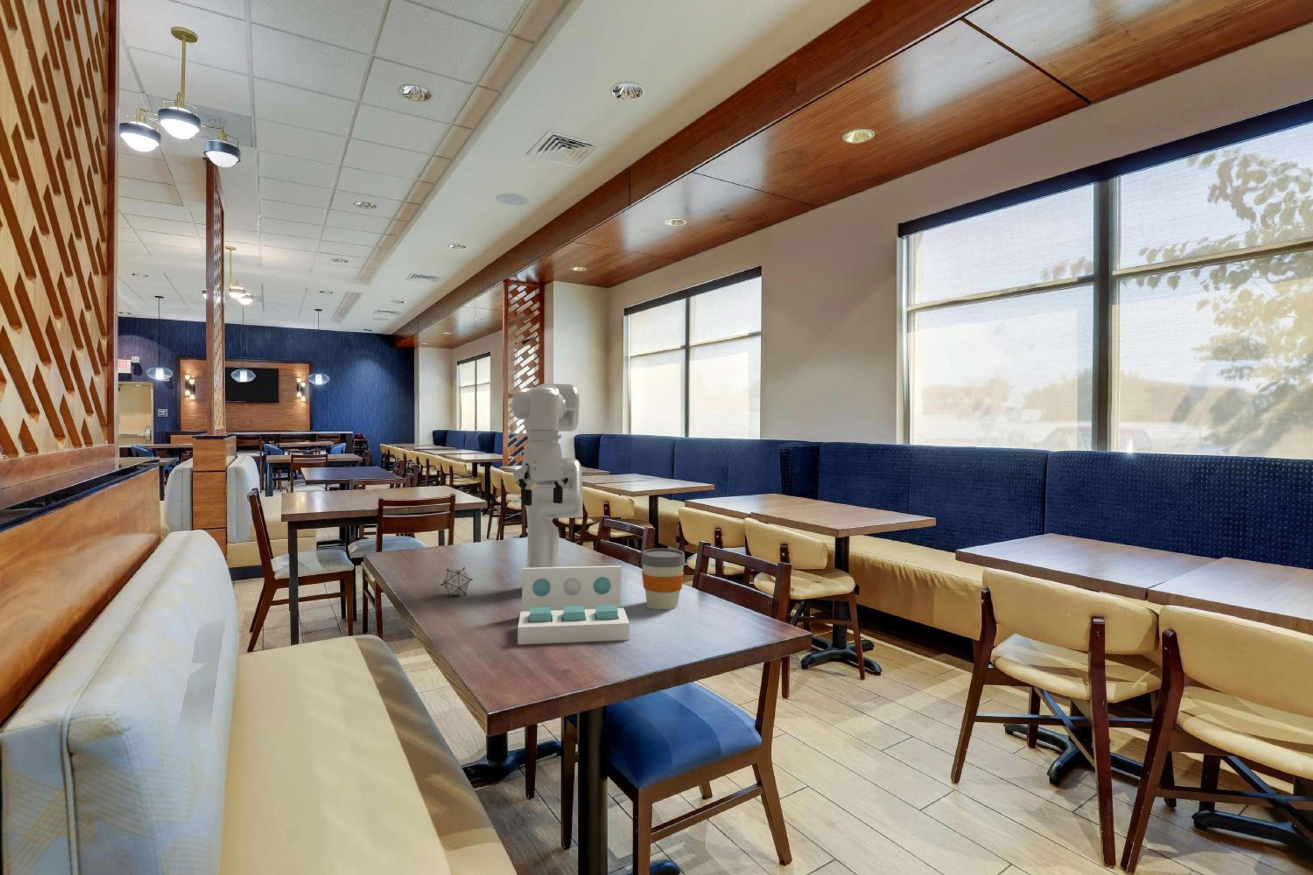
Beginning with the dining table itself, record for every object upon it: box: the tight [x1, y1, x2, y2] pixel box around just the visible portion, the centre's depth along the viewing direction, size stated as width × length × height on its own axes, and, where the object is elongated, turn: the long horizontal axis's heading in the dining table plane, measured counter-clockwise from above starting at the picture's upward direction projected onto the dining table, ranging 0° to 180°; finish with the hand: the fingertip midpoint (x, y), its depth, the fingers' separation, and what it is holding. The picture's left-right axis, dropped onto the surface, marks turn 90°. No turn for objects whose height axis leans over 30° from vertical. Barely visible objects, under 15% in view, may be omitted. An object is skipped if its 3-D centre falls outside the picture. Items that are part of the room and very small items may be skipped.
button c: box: [595, 605, 618, 620], centre depth 150 cm, size 5×5×3 cm
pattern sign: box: [521, 565, 622, 612], centre depth 162 cm, size 6×26×13 cm, turn 100°
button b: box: [563, 606, 585, 621], centre depth 148 cm, size 5×5×3 cm
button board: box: [517, 607, 631, 646], centre depth 148 cm, size 12×26×4 cm, turn 100°
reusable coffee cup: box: [640, 548, 686, 610], centre depth 173 cm, size 13×12×15 cm
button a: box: [530, 607, 551, 623], centre depth 147 cm, size 5×5×3 cm
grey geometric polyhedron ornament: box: [440, 566, 474, 598], centre depth 179 cm, size 9×8×10 cm
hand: (542, 504), depth 156 cm, fingers open, 9 cm apart
